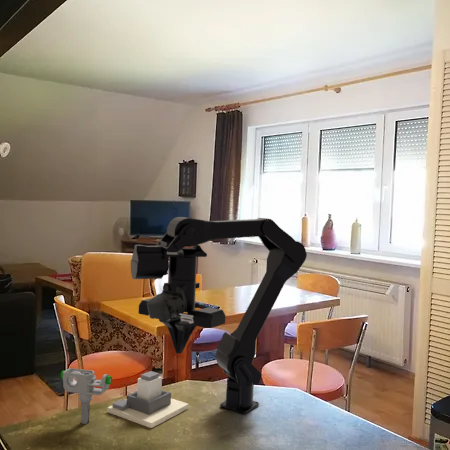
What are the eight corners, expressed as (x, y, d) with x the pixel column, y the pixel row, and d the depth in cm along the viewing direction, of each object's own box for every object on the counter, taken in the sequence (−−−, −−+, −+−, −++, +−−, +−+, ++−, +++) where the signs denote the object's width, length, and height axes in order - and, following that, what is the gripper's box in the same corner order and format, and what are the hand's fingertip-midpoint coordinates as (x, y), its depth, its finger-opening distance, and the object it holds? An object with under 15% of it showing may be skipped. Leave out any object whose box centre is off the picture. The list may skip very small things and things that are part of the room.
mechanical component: (105, 428, 98) (107, 377, 97) (57, 421, 100) (58, 371, 99) (112, 422, 101) (114, 372, 100) (65, 415, 103) (66, 367, 102)
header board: (146, 394, 115) (146, 379, 115) (188, 408, 109) (189, 392, 109) (107, 412, 105) (107, 395, 105) (151, 428, 99) (152, 410, 98)
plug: (149, 400, 109) (150, 369, 109) (160, 404, 108) (162, 373, 107) (136, 406, 106) (137, 374, 106) (148, 410, 104) (149, 378, 104)
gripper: (121, 276, 102) (118, 353, 103) (195, 289, 92) (192, 373, 93) (157, 271, 112) (154, 341, 112) (228, 282, 102) (225, 358, 102)
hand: (179, 353), depth 105 cm, fingers closed
